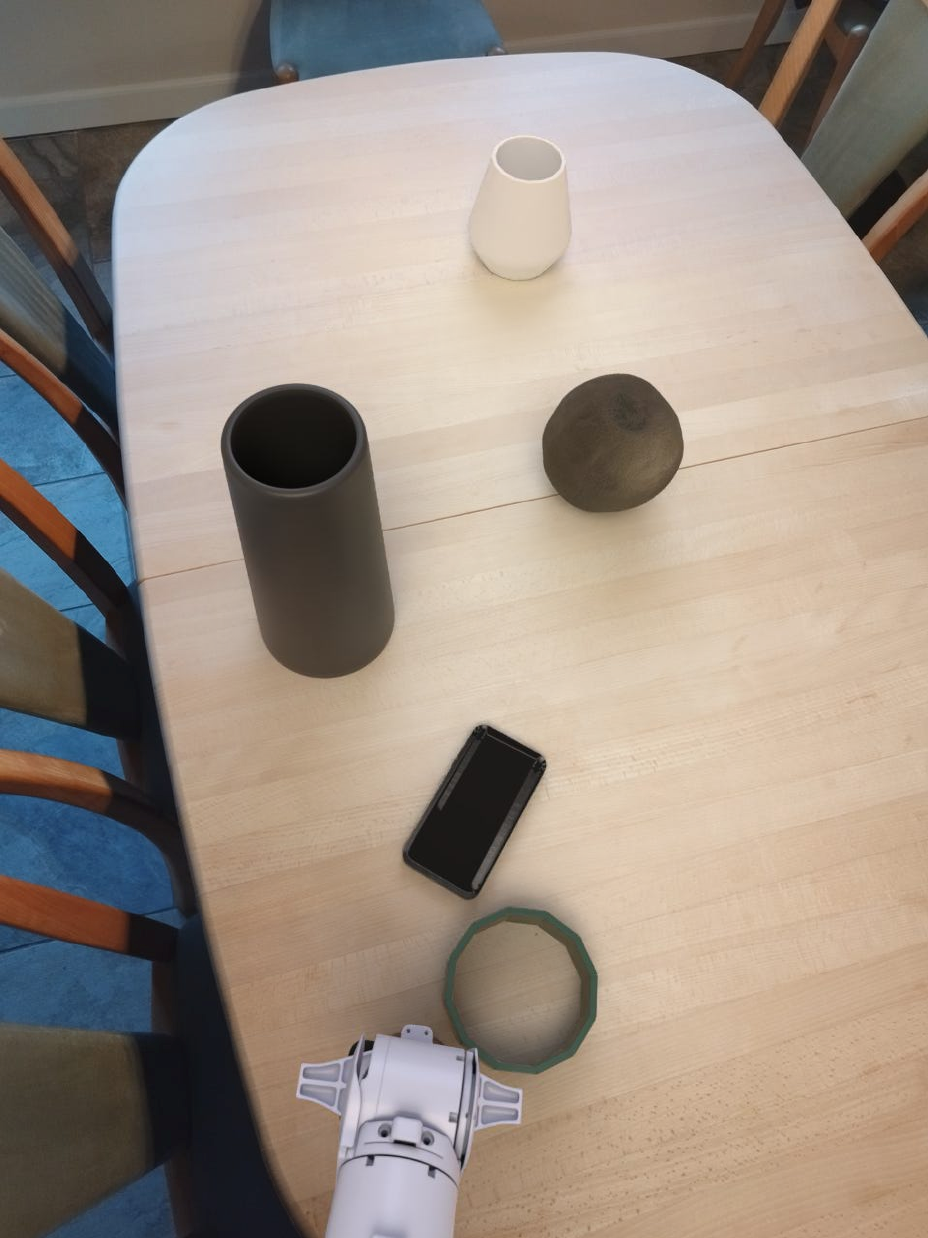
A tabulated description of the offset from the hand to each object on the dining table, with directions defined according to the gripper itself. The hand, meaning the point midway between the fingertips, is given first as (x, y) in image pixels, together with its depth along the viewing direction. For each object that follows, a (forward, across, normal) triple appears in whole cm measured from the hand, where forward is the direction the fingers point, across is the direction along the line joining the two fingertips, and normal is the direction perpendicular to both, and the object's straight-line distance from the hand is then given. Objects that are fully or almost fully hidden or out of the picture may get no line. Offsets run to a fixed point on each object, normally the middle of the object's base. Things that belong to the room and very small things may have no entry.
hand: (410, 1089), depth 64 cm
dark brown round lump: (+7, -13, -61) cm, 63 cm away
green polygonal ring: (+7, -8, -8) cm, 13 cm away
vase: (+7, +14, -41) cm, 44 cm away
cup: (+7, -1, -97) cm, 97 cm away
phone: (+7, -3, -23) cm, 24 cm away
